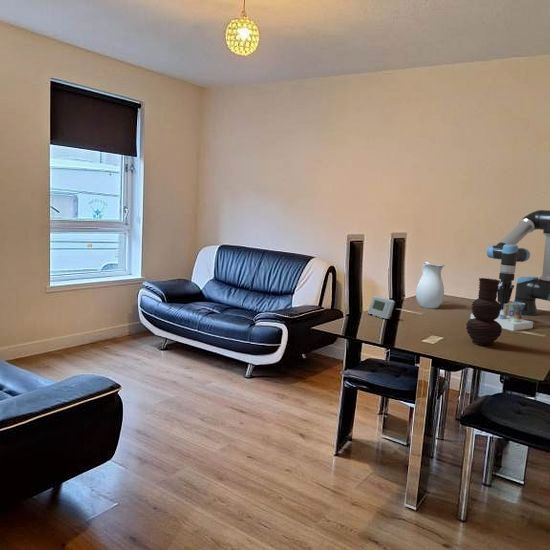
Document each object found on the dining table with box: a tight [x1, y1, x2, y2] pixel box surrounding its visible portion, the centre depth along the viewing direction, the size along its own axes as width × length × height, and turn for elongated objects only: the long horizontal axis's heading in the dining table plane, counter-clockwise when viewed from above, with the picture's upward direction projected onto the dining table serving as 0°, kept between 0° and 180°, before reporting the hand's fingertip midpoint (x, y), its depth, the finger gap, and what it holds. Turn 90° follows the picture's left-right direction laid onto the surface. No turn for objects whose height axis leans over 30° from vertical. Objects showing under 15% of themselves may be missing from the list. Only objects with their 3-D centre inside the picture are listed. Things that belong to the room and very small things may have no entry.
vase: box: [465, 277, 503, 346], centre depth 225 cm, size 15×15×30 cm
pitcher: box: [415, 261, 445, 309], centre depth 313 cm, size 24×17×28 cm
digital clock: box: [367, 295, 396, 320], centre depth 271 cm, size 16×9×11 cm, turn 21°
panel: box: [469, 313, 534, 332], centre depth 272 cm, size 18×26×4 cm
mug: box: [507, 300, 525, 319], centre depth 284 cm, size 12×9×11 cm
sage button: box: [510, 318, 520, 323], centre depth 266 cm, size 5×5×4 cm
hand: (501, 314), depth 272 cm, fingers closed
